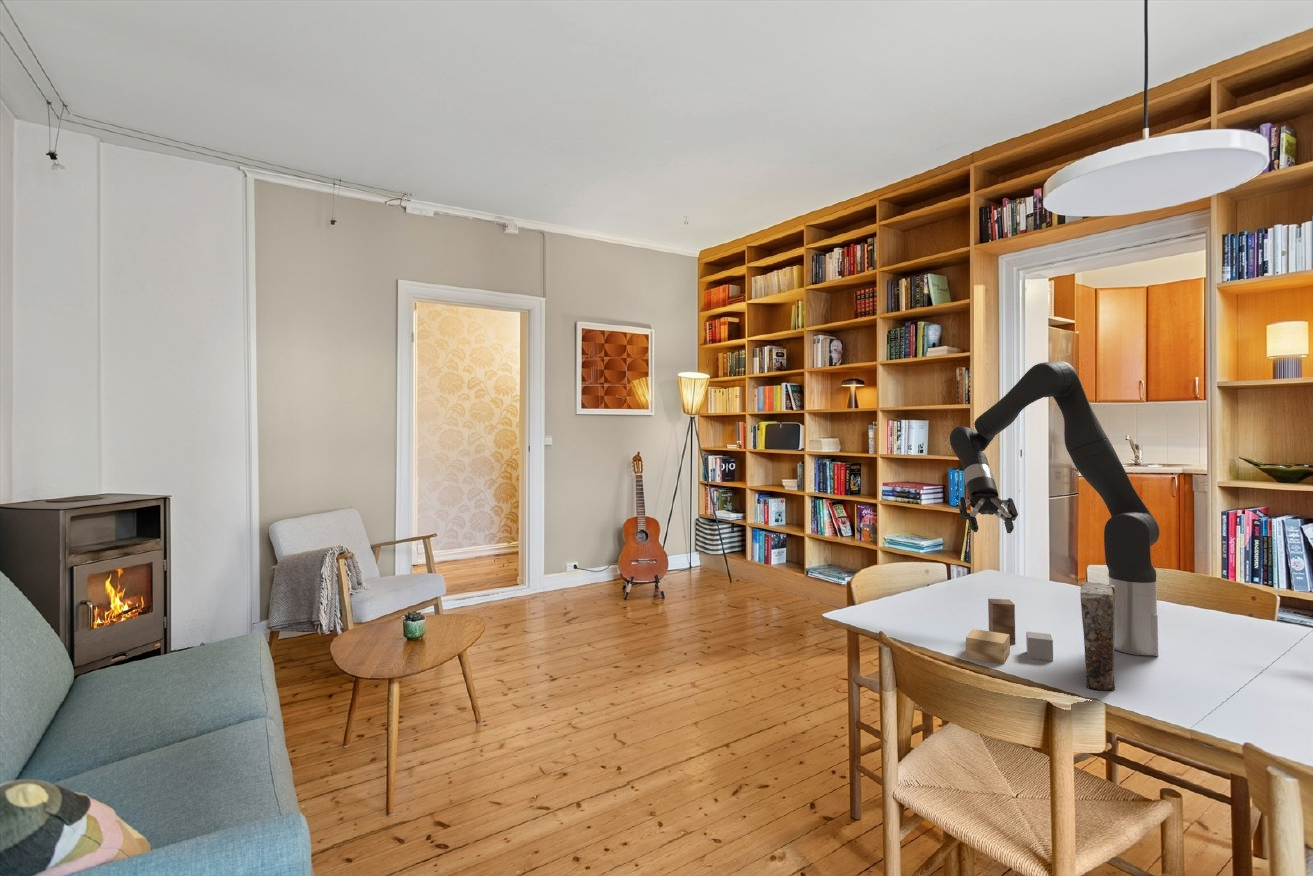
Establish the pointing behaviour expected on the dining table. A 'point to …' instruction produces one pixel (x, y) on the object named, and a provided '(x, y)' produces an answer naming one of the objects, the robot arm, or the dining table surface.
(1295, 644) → the dining table surface
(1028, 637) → the grey cube
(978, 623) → the dining table surface
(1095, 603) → the stone block
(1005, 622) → the walnut pillar
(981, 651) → the oak block
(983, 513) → the robot arm
